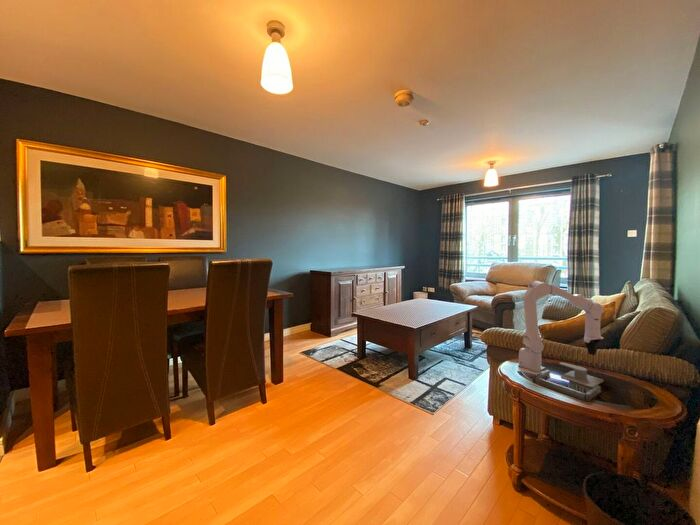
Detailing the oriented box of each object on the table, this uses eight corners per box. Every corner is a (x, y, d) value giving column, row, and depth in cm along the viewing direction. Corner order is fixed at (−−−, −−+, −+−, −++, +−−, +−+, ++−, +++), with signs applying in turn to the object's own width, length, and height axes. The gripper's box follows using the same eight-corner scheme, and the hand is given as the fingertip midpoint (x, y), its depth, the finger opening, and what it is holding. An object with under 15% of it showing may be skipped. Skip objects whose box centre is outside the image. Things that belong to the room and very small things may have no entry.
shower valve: (566, 359, 144) (604, 370, 131) (566, 370, 145) (604, 381, 132) (554, 365, 138) (592, 376, 125) (553, 376, 138) (592, 389, 125)
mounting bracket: (532, 382, 132) (532, 376, 132) (546, 374, 139) (546, 369, 139) (587, 401, 115) (587, 395, 115) (600, 392, 122) (600, 386, 122)
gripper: (597, 331, 134) (596, 360, 134) (608, 326, 141) (608, 353, 142) (578, 327, 140) (578, 355, 140) (590, 322, 147) (590, 349, 148)
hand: (592, 354), depth 142 cm, fingers closed
